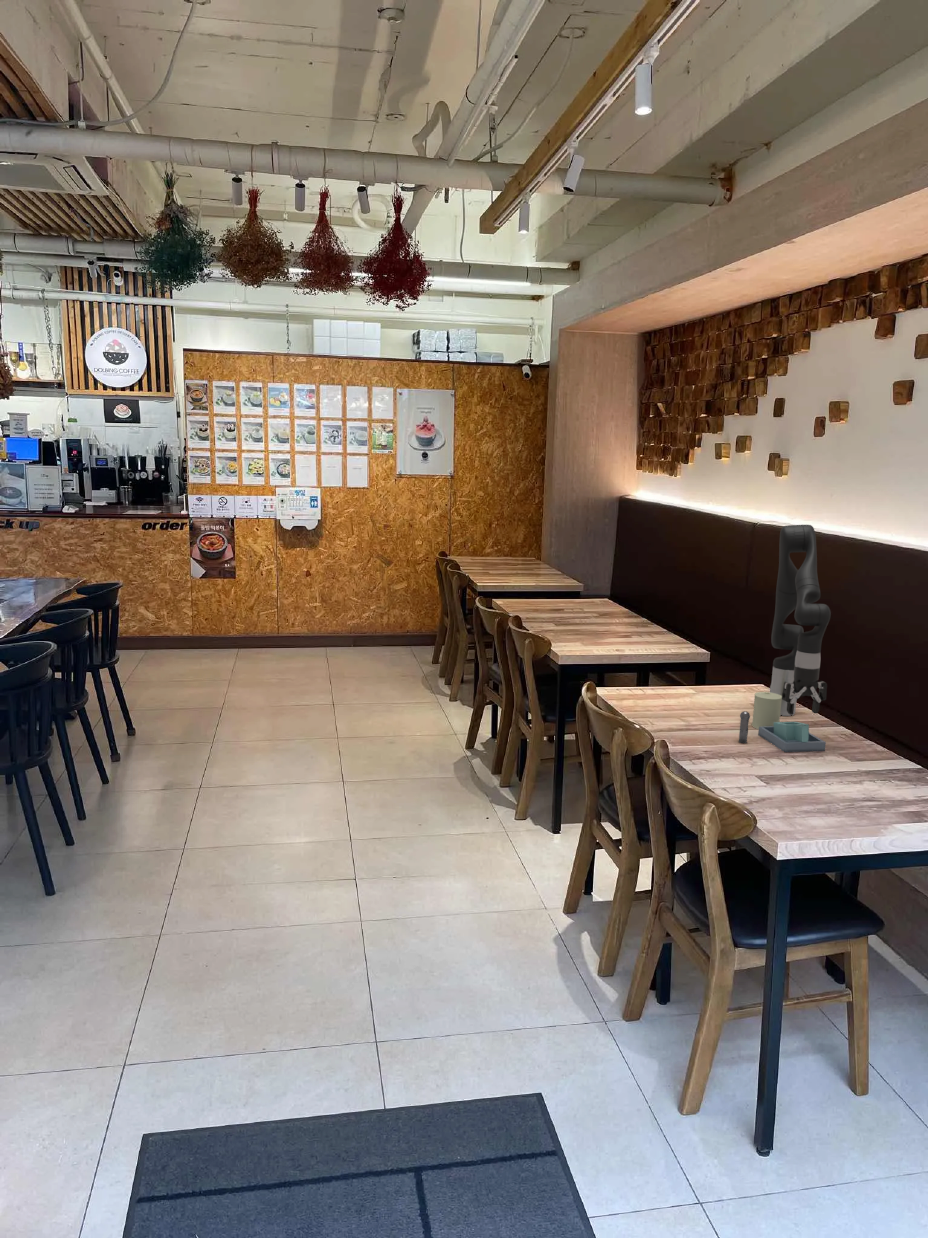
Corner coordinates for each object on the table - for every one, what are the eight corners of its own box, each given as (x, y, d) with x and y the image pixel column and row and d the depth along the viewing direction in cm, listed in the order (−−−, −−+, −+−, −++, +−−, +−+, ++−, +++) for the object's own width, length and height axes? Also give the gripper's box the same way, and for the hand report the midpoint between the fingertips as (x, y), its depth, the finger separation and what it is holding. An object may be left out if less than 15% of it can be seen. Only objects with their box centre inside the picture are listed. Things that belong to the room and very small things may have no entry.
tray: (758, 735, 296) (758, 726, 296) (796, 734, 299) (797, 725, 298) (784, 752, 279) (785, 743, 279) (824, 751, 282) (825, 742, 281)
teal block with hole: (773, 737, 292) (773, 722, 292) (795, 736, 293) (795, 721, 293) (793, 742, 280) (793, 726, 280) (816, 741, 281) (816, 726, 281)
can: (775, 723, 310) (778, 691, 307) (782, 732, 301) (785, 698, 298) (749, 722, 310) (751, 690, 308) (754, 730, 301) (757, 697, 299)
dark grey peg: (736, 740, 290) (738, 710, 288) (744, 740, 290) (747, 709, 288) (740, 744, 287) (743, 712, 285) (749, 743, 287) (752, 712, 285)
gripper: (821, 661, 284) (816, 709, 287) (780, 662, 282) (776, 710, 285) (834, 667, 277) (829, 716, 280) (792, 668, 274) (788, 717, 278)
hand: (802, 713), depth 282 cm, fingers open, 8 cm apart
